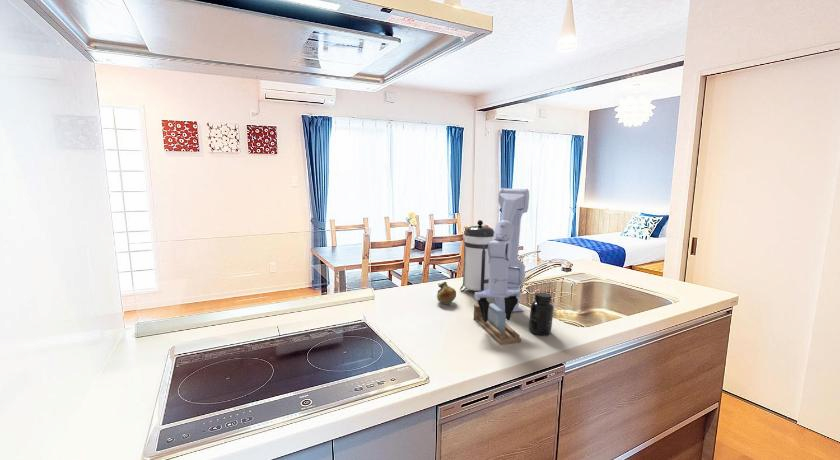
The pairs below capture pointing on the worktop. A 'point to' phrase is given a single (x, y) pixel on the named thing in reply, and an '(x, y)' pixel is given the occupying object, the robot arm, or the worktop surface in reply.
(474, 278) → the coffee press
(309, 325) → the worktop surface
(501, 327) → the light blue flat block
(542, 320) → the supplement bottle
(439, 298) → the onion
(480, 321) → the door track
